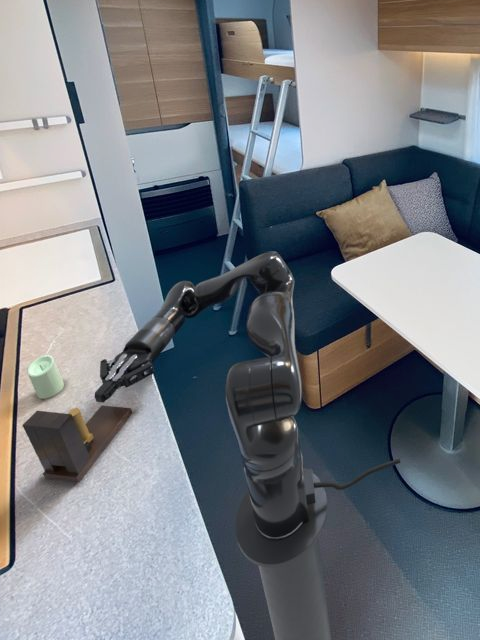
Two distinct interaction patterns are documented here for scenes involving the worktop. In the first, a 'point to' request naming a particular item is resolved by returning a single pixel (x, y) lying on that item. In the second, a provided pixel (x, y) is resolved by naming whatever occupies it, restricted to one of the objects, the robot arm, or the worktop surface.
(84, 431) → the bolt
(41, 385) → the candle
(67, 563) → the worktop surface
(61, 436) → the latch
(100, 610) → the worktop surface
